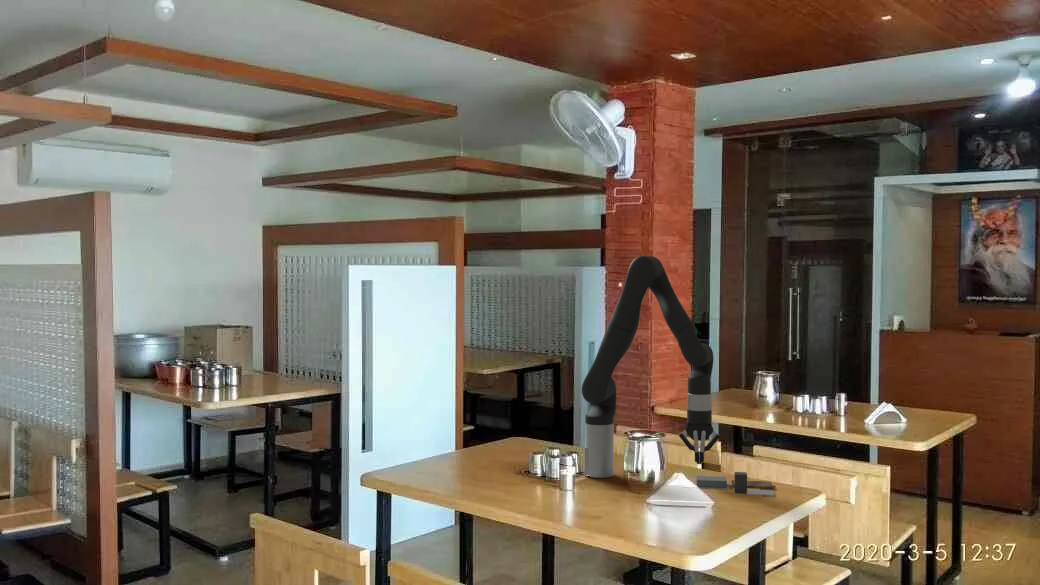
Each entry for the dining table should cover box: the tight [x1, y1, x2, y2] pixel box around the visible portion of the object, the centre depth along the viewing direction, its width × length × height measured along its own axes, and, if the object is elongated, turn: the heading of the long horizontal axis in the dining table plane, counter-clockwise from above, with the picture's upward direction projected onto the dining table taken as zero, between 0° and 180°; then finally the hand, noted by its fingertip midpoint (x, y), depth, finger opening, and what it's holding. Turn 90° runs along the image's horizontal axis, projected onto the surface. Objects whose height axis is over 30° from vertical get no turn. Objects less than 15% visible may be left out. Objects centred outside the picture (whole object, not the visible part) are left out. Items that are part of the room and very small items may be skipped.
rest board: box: [731, 479, 774, 491], centre depth 276 cm, size 12×7×1 cm, turn 80°
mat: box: [692, 481, 731, 490], centre depth 276 cm, size 14×8×1 cm, turn 80°
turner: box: [733, 471, 775, 498], centre depth 267 cm, size 6×11×6 cm, turn 80°
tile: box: [695, 475, 728, 488], centre depth 276 cm, size 2×6×9 cm
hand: (699, 463), depth 277 cm, fingers closed
